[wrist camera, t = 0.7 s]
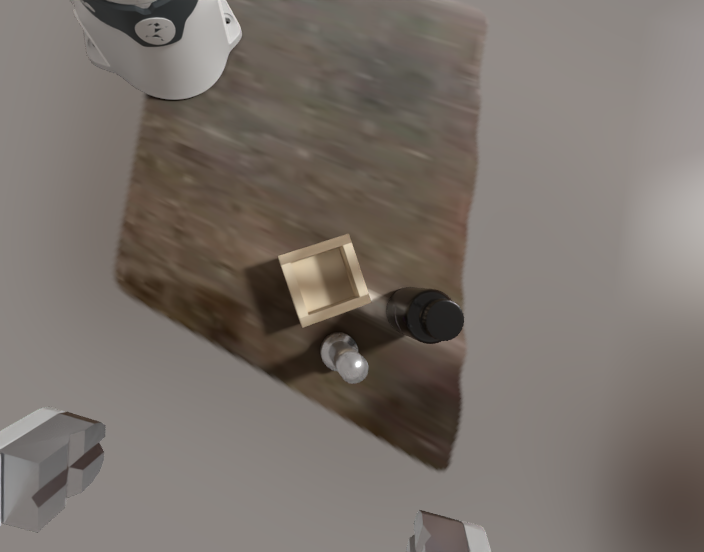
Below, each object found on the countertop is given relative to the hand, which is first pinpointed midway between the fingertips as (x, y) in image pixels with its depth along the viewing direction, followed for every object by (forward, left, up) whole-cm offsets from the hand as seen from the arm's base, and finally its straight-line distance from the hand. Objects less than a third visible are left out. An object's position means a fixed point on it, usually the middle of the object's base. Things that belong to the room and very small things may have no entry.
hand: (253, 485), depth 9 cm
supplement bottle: (+6, +18, -41) cm, 45 cm away
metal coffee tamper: (+7, +7, -40) cm, 42 cm away
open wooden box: (-3, +8, -40) cm, 41 cm away
